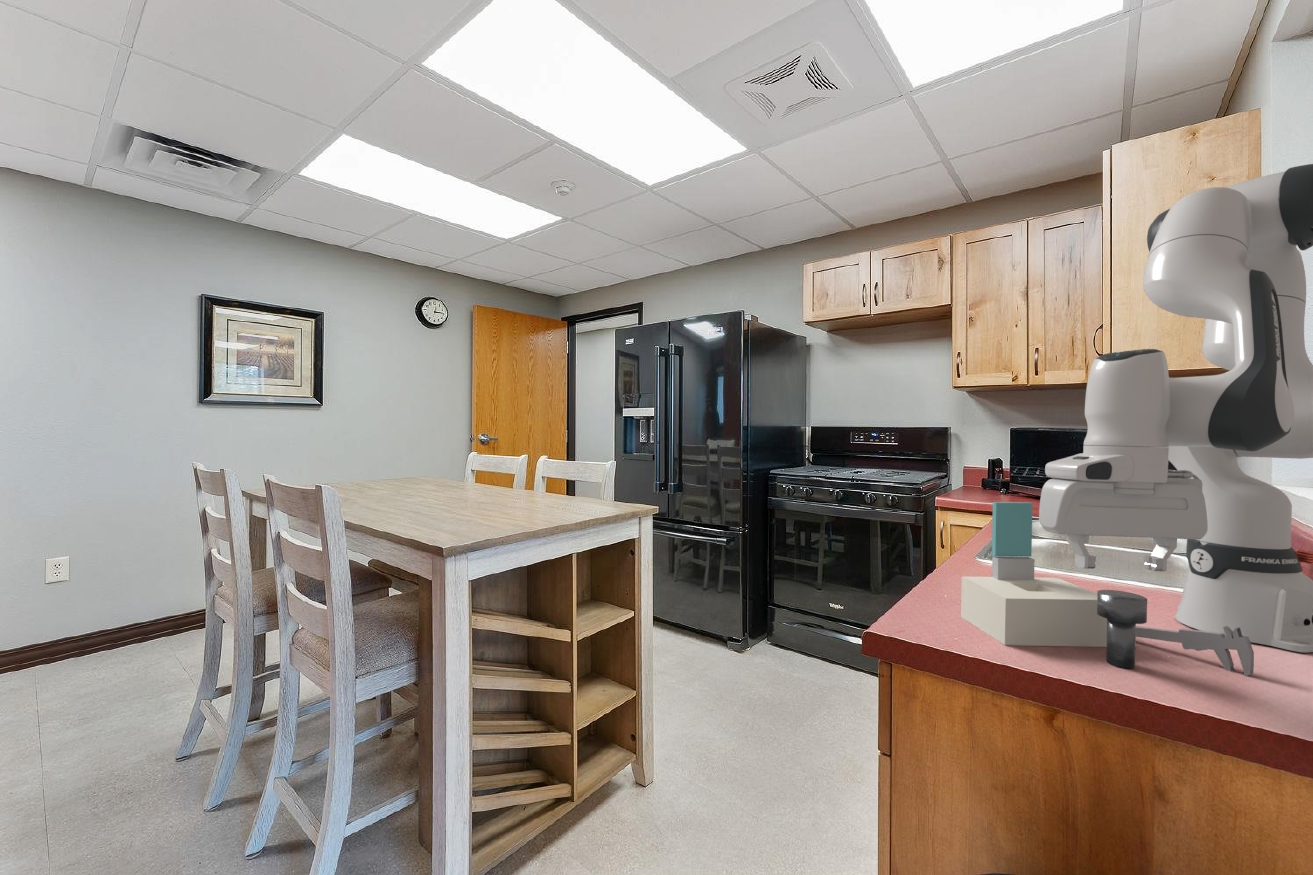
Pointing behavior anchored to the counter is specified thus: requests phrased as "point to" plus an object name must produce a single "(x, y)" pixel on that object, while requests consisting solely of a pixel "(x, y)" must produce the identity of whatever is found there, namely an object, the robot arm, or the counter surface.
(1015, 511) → the block
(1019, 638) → the block
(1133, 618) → the pin
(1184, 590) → the robot arm
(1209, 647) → the caliper
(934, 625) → the counter surface
